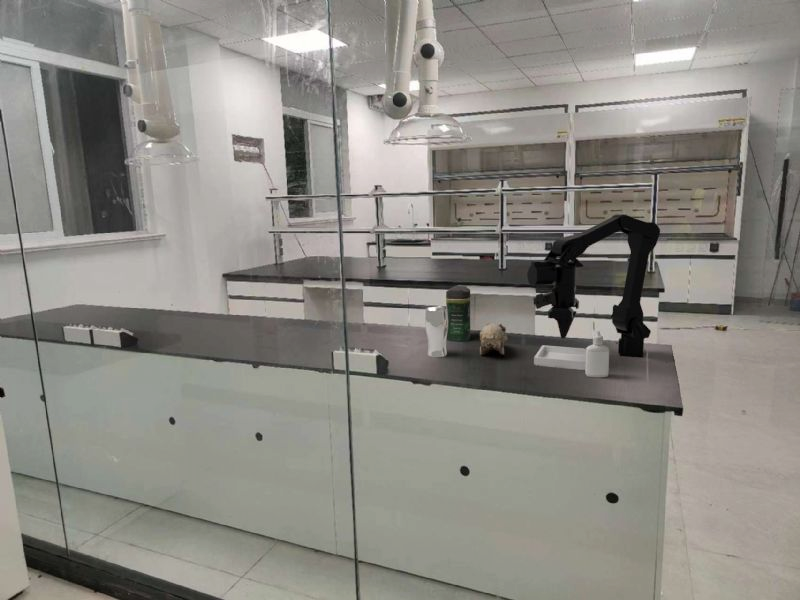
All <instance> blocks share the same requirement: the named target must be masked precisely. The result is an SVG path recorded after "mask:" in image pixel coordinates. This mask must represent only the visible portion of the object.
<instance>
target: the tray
mask: <svg viewBox="0 0 800 600" xmlns="http://www.w3.org/2000/svg"><path fill="white" fill-rule="evenodd" d="M533 365H534V366H538V365H539V367H548V368H555V367H556V369H570V370H579V371H585V367H586V348H584V347H583V348H582V347H568V346H557V345H543V344H542V345H541V346H540V348H539V349H538V351H537V353H536V354H535V355H534V357H533Z"/></svg>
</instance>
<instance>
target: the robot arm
mask: <svg viewBox="0 0 800 600" xmlns="http://www.w3.org/2000/svg"><path fill="white" fill-rule="evenodd" d="M618 232H620V233H622V234H624V235H627V243H628V244H627V245H628V247H629V250H630V256H629V258H628V259H629V261H628V266H627V272H626V277H625V282H624V289H623V293H622V294H623V295H622V299H621V301H619V303H618V305H617V304H613V305H612V313H611V315H610V318H611V319H612V320H611V322H612V325H613V326H614V328H615V331H616V333H617V334H620V337H619V338H618V349H617V351H618V352H617V353H618V354H619V357H629V358H640V359H641V358H642V359H643V358H644V356H645V355H644V348H645V347H644V345H645V343H644V342H645V339H648V338H650V335H651V329H650V328H649V327H648V326H647V325H646V324H645V323H644V312H643V307H642V304H641V301H642V294H643V289H644V285H645V284H644V283H645V278H646V272H647V267H648V263H649V261H648V260H649V256H650V253H652V251H653V250H654V249H655V247H656V246H657V244H658V240H659V237H660V234H661V228H660V227H659V225H658V224H657V223H655V222H653V221H643V220H640V219H638V218H634V217H632V216H630V215H628V214H624V213H623V214H622V213H621V214H617V213H616V214H614V215H612V216H611V217H609V218H607V219H605V220H603V221H601V222H600V223H597V224H595V225H593V226H592V227H590V228H588V229H585V230H583V231H582V232H580V233H576V234H572V235H567V236H564V237H559V238H557V239H556V240H554V241H553V242H552V246H551V249H550V250H549V252H548V253H547V255H546V257H544V259H543V261H542V260H541V261H538V260H532V261H531V264H530V266H529V268H528V270H527V273H526V275H527V277H526V278H527V281H528V283H529V285H530V286H533V287H535V286H536V287H537V286H549V285H552V284H553V286H554V287H553V288H552V289H551V291H548V292H546V293H543V292H541V293H539V294H536V295H535V296H534V297H533V299H532V300H533V305H535V308H536V310H538V309H541V308H543V307H546V306H550V305H551V307H550V308H549V310H548V311H547V312H548V313H547V318H548V319H554V320H555V321H556V322H557V327H558V331H559V335H560V339H566V337H567V335H568V333H569V331H570V328H571V326H572V324H573V322H574V319H575V318H576V315H577V313H578V311H576V310H578V309H580V301H579V300H578V298H576V292H577V286H576V281H577V280H576V278H577V276H576V275H577V268H583V267H584V264H583V263H582V262H580V260H579V259H578V258H579V257H580V256H581V255H583V254H584V253H585V252H586V250H587V249H589V247H591V246H593V245H594V244H596V243H599V242H600V241H602V240H604V239H605V238H608V237H610V236H612V235H614V234H616V233H618ZM573 308H575V309H576V310H574V309H573Z"/></svg>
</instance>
